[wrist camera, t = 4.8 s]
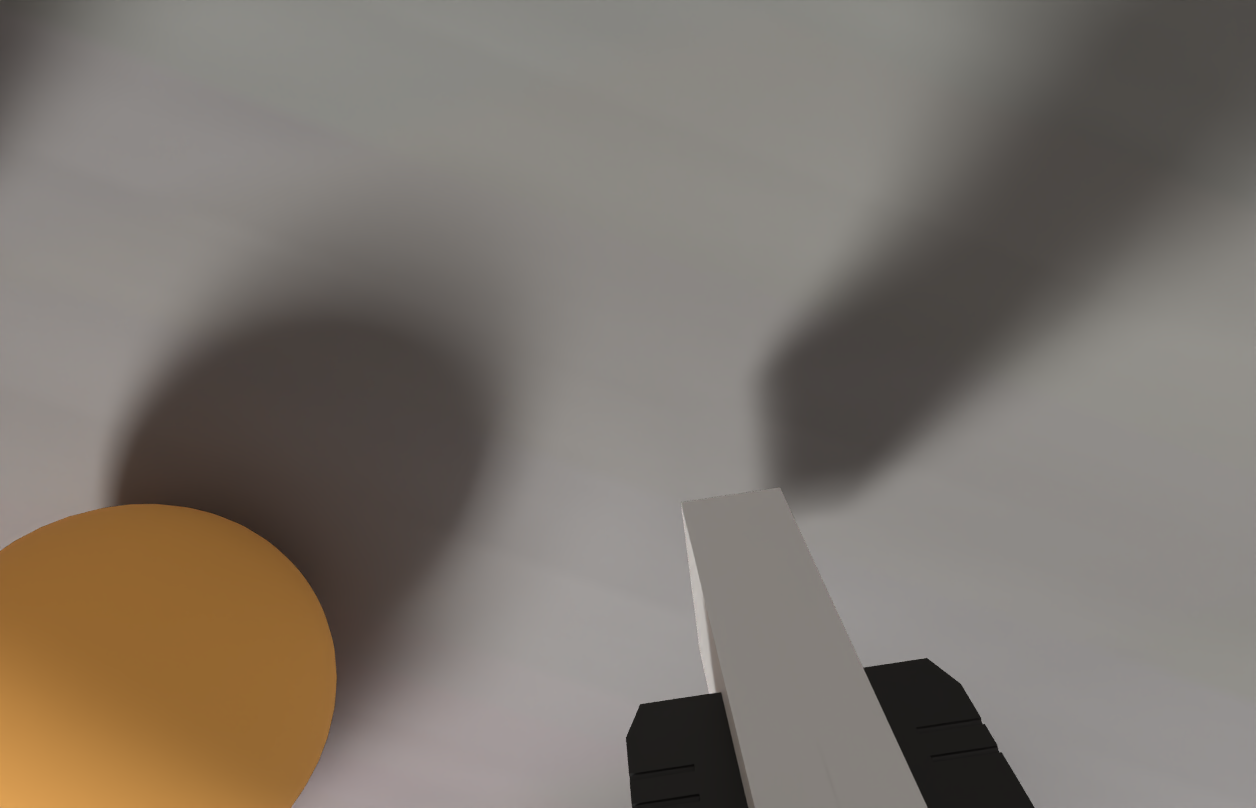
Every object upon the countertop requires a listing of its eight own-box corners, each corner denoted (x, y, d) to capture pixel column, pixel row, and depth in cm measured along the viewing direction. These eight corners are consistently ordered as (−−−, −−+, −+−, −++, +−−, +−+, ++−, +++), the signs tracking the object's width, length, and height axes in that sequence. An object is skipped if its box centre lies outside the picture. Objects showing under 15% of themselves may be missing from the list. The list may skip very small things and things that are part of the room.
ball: (91, 1103, 11) (444, 788, 15) (-120, 743, 9) (361, 482, 12) (-61, 882, 14) (258, 673, 18) (-240, 583, 12) (167, 416, 16)
